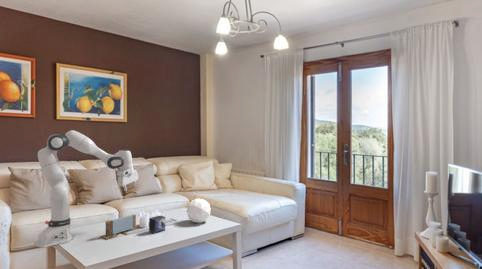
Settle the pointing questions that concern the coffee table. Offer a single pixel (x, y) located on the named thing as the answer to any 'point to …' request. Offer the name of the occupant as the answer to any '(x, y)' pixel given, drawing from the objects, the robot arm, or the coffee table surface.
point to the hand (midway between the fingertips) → (130, 188)
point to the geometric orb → (198, 210)
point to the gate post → (108, 231)
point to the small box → (156, 224)
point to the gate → (123, 224)
